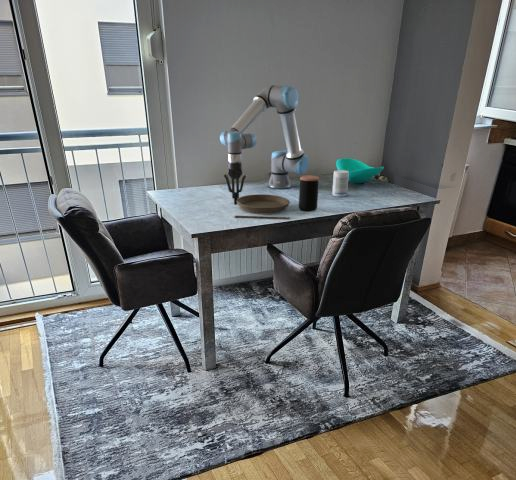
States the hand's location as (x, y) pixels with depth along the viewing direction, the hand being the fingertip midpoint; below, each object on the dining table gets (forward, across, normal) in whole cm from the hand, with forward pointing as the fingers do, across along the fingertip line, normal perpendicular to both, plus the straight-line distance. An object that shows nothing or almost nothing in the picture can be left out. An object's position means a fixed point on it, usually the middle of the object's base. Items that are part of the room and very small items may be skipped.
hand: (235, 204), depth 276 cm
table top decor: (+2, +77, +75) cm, 108 cm away
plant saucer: (+2, +16, 0) cm, 16 cm away
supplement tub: (+2, +62, +36) cm, 72 cm away
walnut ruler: (+2, +18, -20) cm, 27 cm away
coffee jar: (+2, +42, 0) cm, 43 cm away
